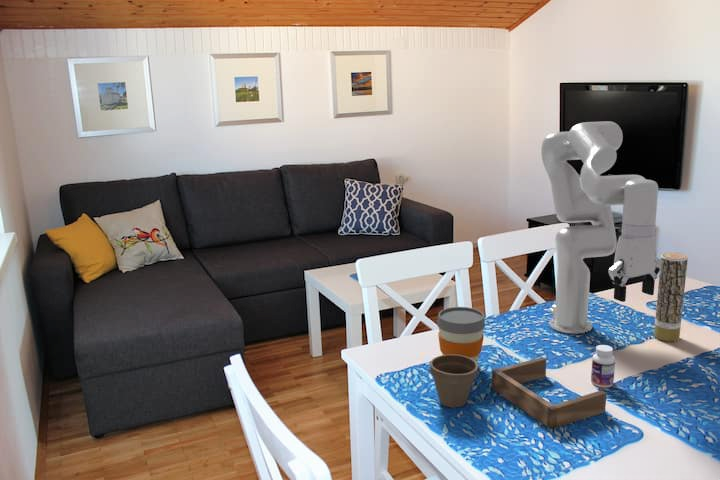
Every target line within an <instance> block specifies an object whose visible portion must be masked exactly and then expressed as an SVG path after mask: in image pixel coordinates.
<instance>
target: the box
mask: <svg viewBox="0 0 720 480" xmlns="http://www.w3.org/2000/svg"><path fill="white" fill-rule="evenodd" d="M546 375H547V358H546V357H544V356H540V357H538V358H533V359H530V360H526V361H521V362H518V363H514V364H511V365H507V366H503V367H499V368H496V369H495V368H494V369H492V370H491V389H492V390H493V391H495V392H496V393H498V394H499V395H500V396H502V397H504V398H505V399H506V400H508V401H509V402H511V403H512V404H514V405H515V406H517V407H518V408H519V409H521V410H522V411H523V412H525V413H527V414H528V415H529V416H530V417H532V418H534V419H535V420H536V421H538V422H539V423H541V424H542V425H543V426H545V427H547V428H548V429H549V428H550V429H549V430H551V429H552V430H555V429H558V428H561V427H564V426H567V425H570V423H571V424H573V423H572V422H574V423H577V422H579V421H578V420H580V421H582V420H581V419H583V420H585V419H584V418H586V419H588V417H589V418H592V417H595V416H598V415H601V414H604V413H603V412H605V413H606V406H607V394H608V393H607V391H606V392H605V391H604V390H602V389H601V390H597V391H594V392H591V393H588V394H585V395H581V396H578V397H576V398H575V397H574V398H571V399H569V400H565V401H562V402H558V403H555V404H552V403H551V402H549V401H548V400H546V399H544V398H543V397H541V396H540V395H538V393H537V394H536V393H535V392H534V391H532V390H531V389H529V388H527V387H525V385H523V384H526V383H528V382H531V381H536V380H539V379H542V378H546ZM600 413H601V414H600ZM597 414H598V415H597ZM594 415H595V416H594ZM591 416H592V417H591ZM576 421H577V422H576ZM566 424H567V425H566ZM557 427H558V428H557Z"/></svg>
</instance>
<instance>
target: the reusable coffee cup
mask: <svg viewBox="0 0 720 480" xmlns="http://www.w3.org/2000/svg"><path fill="white" fill-rule="evenodd" d="M485 320H486V319H485V314H484V313H483V312H482V311H481V310H479V309H476V308H472V307H467V306H466V307H465V306H454V307H446V308H444V309H442V310H440V311H438V315H437V322H436V323H437V324H436V325H437V327H438V330H439V331H438V334H437V335H438V342H439V343H438V344H439V349H440V352H441V354H442V355H450V354H452V355H462V356H466V357H469V358H471V359H473V360H474V361H476V362H477V364H478V365H479V357H480V354H481V353H482V349H483V343H484V337H485V336H484V333H483V332H484V329H485V327H486V322H485Z"/></svg>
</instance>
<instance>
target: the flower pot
mask: <svg viewBox="0 0 720 480" xmlns="http://www.w3.org/2000/svg"><path fill="white" fill-rule="evenodd" d="M478 372H479V363H478V364H477V362H476V361H474V360H473V359H471V358H469V357H466V356H462V355H452V354H450V355H438V356H436V357H434V358H432V359H431V360H430V363H429V373H430V375H431V376H432V377H433V379H434V384H435V389H436V393H437V396H438V400H439V403H440V404H441V405H442V406H445V407H448V408H460V407H463V406H465V405H466V404H467V401H468V399H469V396H470V393H471V389H472V386H473V382H474V380H476V379H477V377H478V375H479V373H478Z"/></svg>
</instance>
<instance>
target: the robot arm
mask: <svg viewBox="0 0 720 480" xmlns="http://www.w3.org/2000/svg"><path fill="white" fill-rule="evenodd" d="M623 135H624V134H623V130H622V129H621V127H620V125H619V124H617V123H616V122H614V121H608V120H607V121H586V122H579V123H577V124H575V125H573V126H572V127H571V128H570V130H569V131H559V132H554V133H553V132H552V133H551V134H547V135H546V137H544V139H543V141H542V144H541V148H540V151H541V152H540V153H541V160H542V163H543V167H544V169H545V171H546V173H547V176H548V178H549V181H550V185H551V192H552V199H553V200H552V201H553V204H554V206H553V207H554V210H555V215H556V218H557V219H558V220H559V221H560V222H561V223H570V224H572V223H573V224H574V223H591V225H574V226H573V225H572V226H566V227H563V228H561V229H560V230H558V232H557V233H556V235H555V238H554V239H555V242H554V243H555V244H554V245H555V251H556V261H557V262H556V264H557V266H556V267H557V268H556V289H555V290H556V291H555V304H553V305H551V307H550V308H548V310H547V311H548V313H550V314H552V318H550V319H549V322H548V324H549V326H550V328H551V329H553V330H554V331H557V332H560V333H563V334H571V335H572V334H573V335H579V334H580V333H581V334H586V333H588V331H589V332H591V330H593V323H592V322H591V321H590V320H588V314H589V311H588V310H589V297H590V281H591V272H590V268H589V267H588V266H587V264H586V262H585V261H584V259H585V258H587V259H588V258H598V257H599V258H601V257H608V256H610V255H613V254H614V258H613V259H614V261H613V265H612V266H610V267H609V269H608V270H607V272H608V275H609V279H610V280H611V282H612V284H613V285H614V287H613V299H614V300H616V301H619V302H626V299H627V286H626V283H627V281H628V280H629V279H633V278H637V277H641V276H644V277H642V280H641V281H642V282H641V283H642V285H641V293H643V294H646V295H648V296H653V295H654V293H655V283H656V282H655V281H656V280H657V278H658V274H659V273H660V267H661V264H662V260H661V258H659V257H657V238H656V235H655V234H656V225H657V224H656V223H657V222H656V221H657V210H658V209H657V208H658V207H657V206H658V194H659V185H658V183H657V181H655V180H652V179H646V178H645V177H644V176H642V175H639V174H618V175H617V174H616V175H602V174H603V173H605V172H607V171H609V170H610V169H611V168H612V167H613V166H614V165H615V163H616V161H617V155H618V153H617V150H619V148H620V147H621V145H622V143H623V137H624V136H623ZM572 160H573V161H575V160H576V161H577V160H581V162H582V163H583V165H582V167H581V169H580V174H579V173H578V172H577V171H576V169H575V168H574V167H573V166H572V165H571V164H570V163H568V161H572ZM621 205H622V222H621V234H620V235H619V236H618V240H617V235H616V234H617V233H616V226H615V222H614V217H613V216H614V215H613V210H612V206H621ZM621 278H622V279H621ZM585 332H586V333H585Z"/></svg>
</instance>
